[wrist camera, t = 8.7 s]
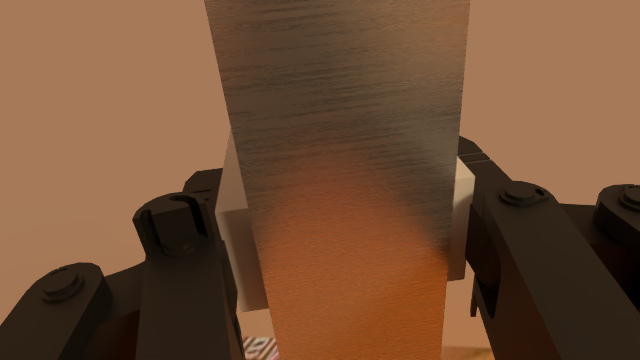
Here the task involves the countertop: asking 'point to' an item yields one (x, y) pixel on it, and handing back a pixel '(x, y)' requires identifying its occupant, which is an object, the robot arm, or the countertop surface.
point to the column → (347, 165)
